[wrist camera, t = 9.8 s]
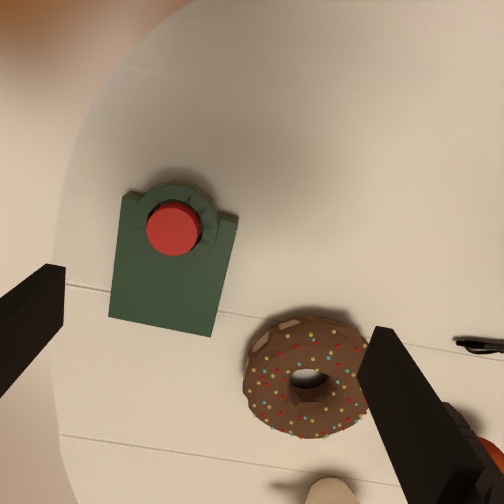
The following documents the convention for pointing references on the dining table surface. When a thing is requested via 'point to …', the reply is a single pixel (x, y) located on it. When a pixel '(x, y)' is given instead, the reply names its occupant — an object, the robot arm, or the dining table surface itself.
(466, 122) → the dining table surface
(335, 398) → the donut
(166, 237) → the button
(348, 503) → the mug
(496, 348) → the pen
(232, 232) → the button block
